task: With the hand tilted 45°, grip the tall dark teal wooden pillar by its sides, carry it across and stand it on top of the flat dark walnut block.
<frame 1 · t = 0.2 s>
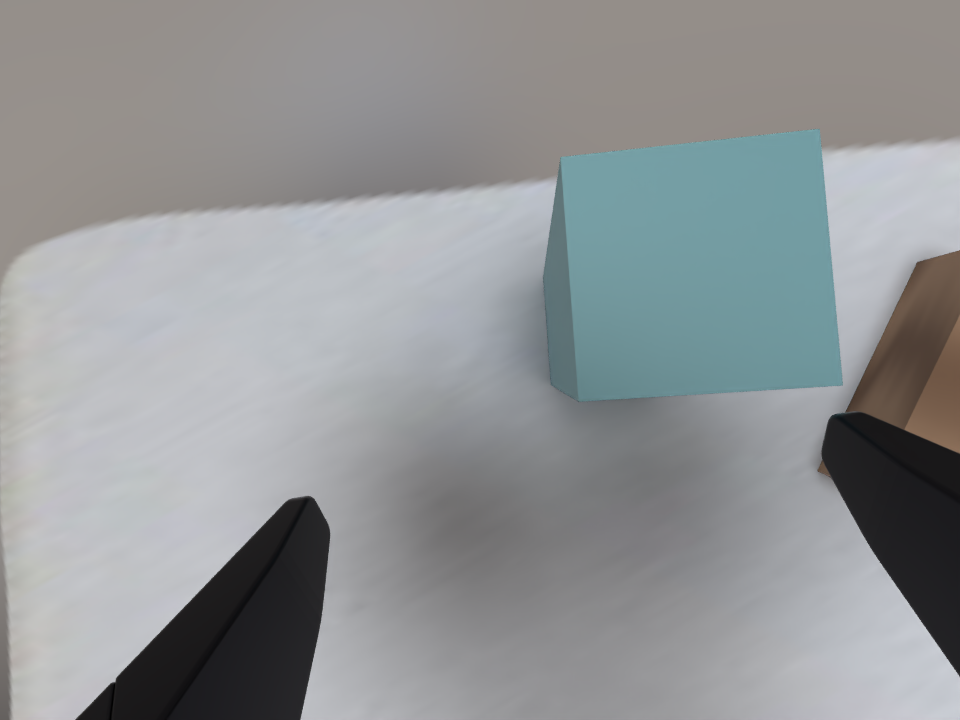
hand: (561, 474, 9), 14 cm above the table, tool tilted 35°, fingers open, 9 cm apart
teal pillar: (601, 326, 23), on the table
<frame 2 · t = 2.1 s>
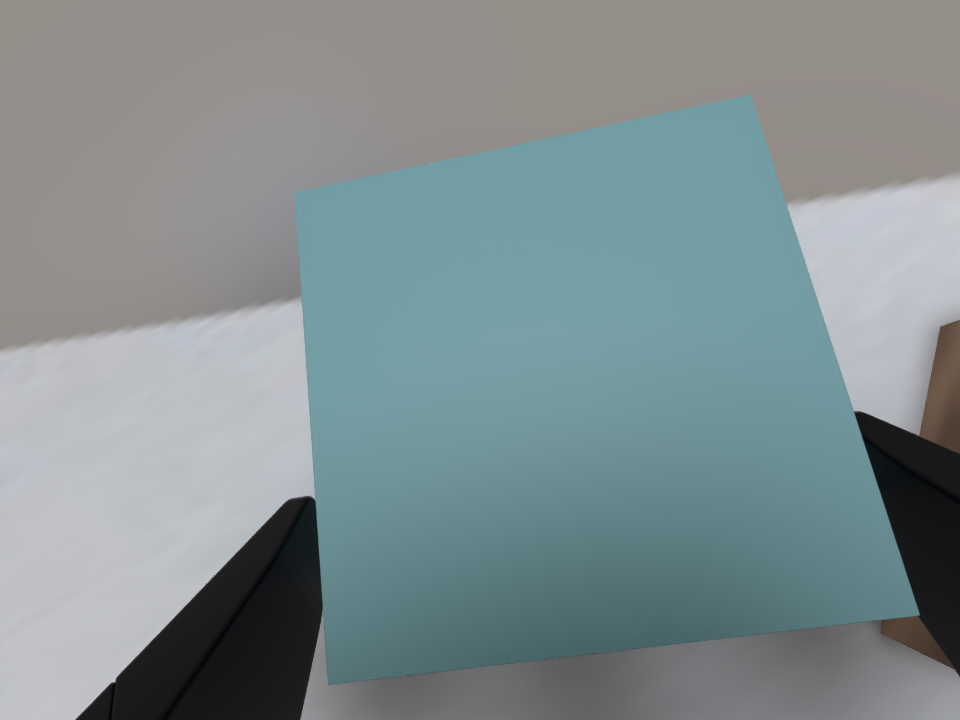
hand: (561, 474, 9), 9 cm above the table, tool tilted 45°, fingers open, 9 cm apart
teal pillar: (548, 441, 17), on the table
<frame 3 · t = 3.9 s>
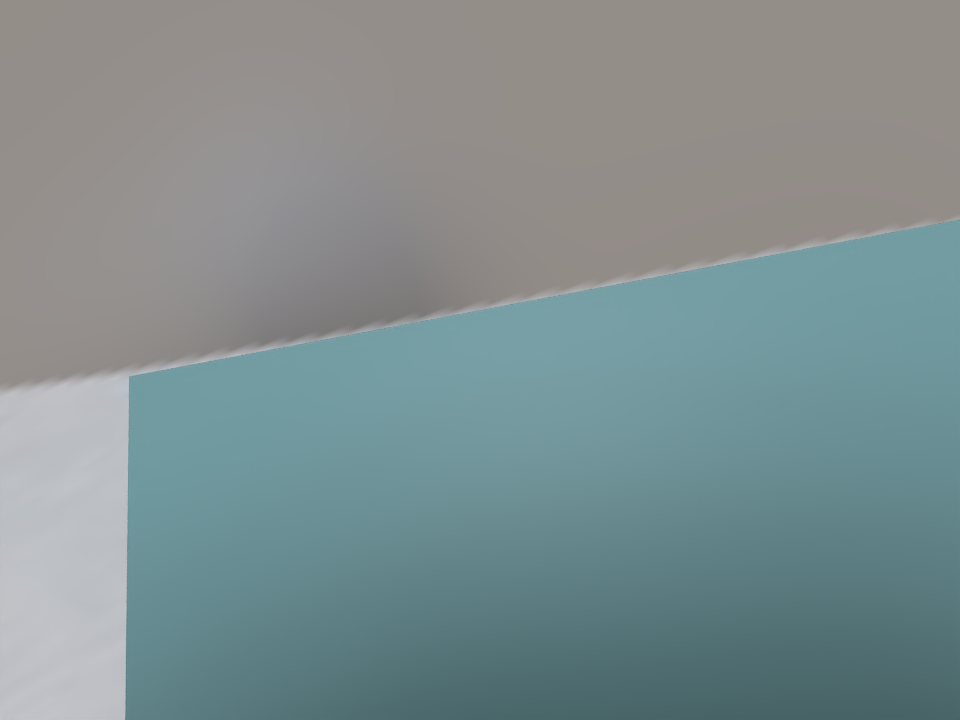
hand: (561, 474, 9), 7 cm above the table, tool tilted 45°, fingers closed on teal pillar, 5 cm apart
teal pillar: (562, 519, 15), on the table, touching gripper
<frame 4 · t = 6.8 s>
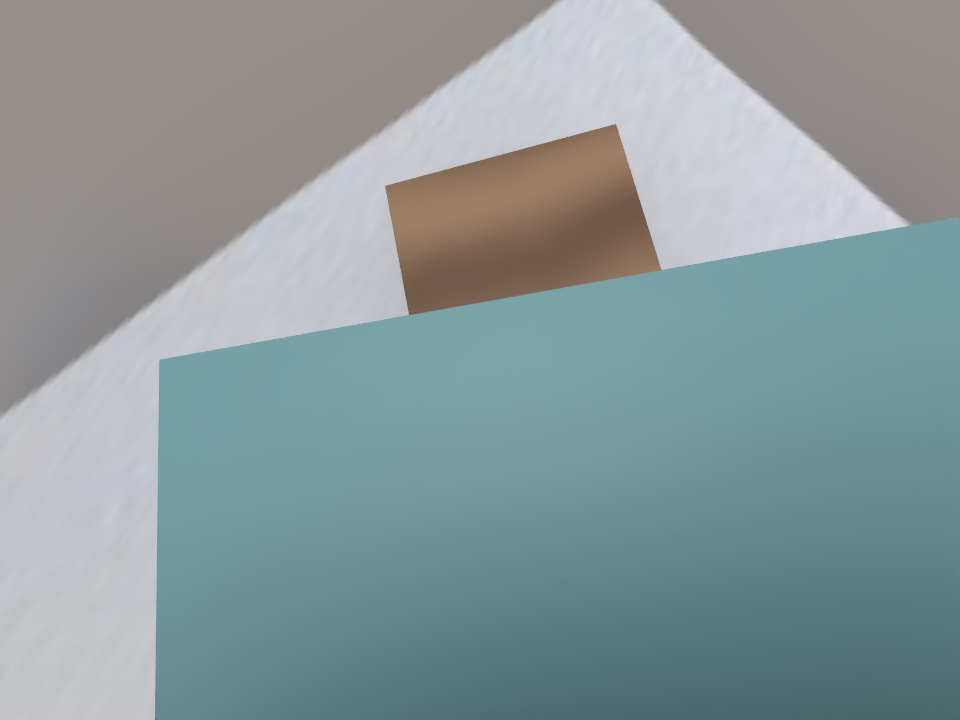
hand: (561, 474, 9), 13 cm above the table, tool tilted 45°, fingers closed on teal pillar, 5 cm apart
walnut block: (528, 295, 24), on the table
teal pillar: (565, 517, 15), point 7 cm above the table, touching gripper
when the fingers open (11 cm above the table, at t = 10.0 s): teal pillar drops 1 cm, resting on walnut block.
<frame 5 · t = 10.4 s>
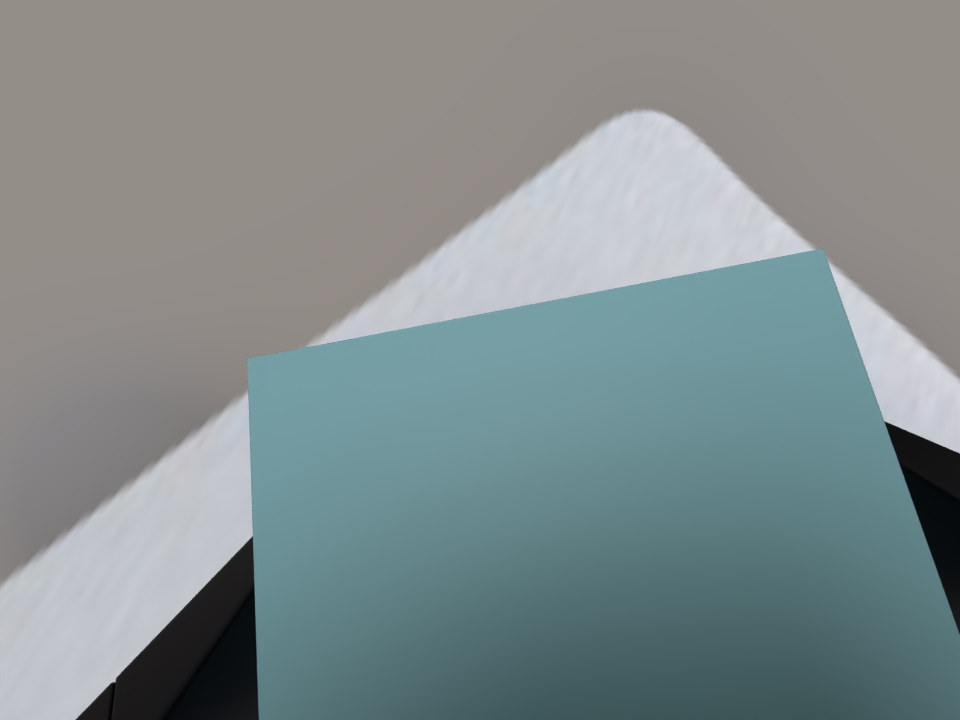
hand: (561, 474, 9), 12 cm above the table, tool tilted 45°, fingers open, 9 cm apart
teal pillar: (559, 511, 16), point 4 cm above the table, touching walnut block
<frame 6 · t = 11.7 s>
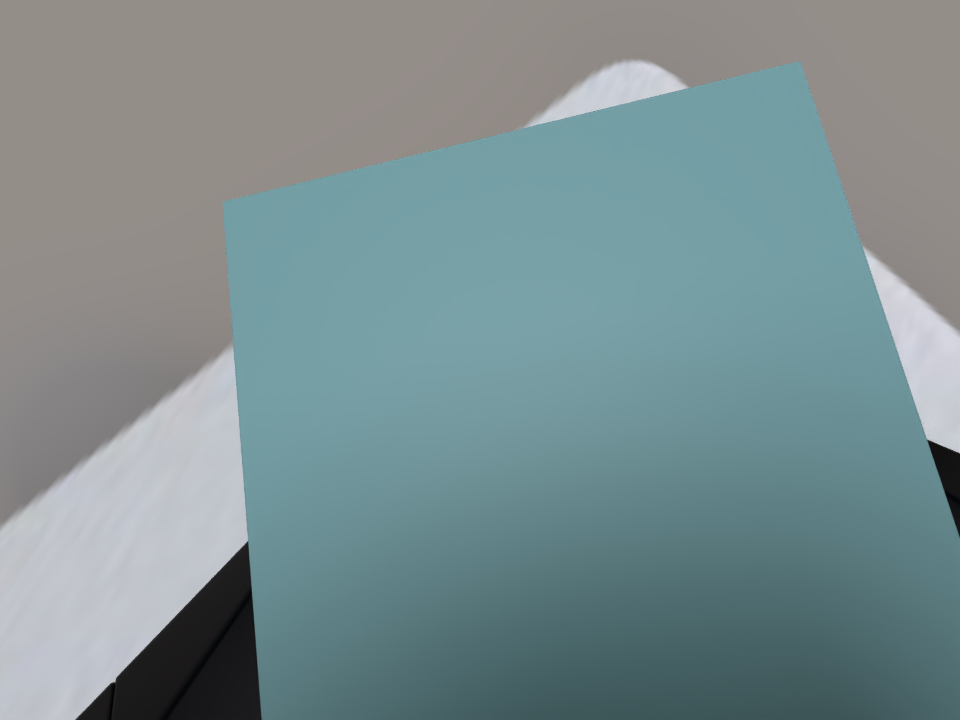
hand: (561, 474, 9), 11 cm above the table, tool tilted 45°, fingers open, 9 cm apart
teal pillar: (552, 440, 16), point 4 cm above the table
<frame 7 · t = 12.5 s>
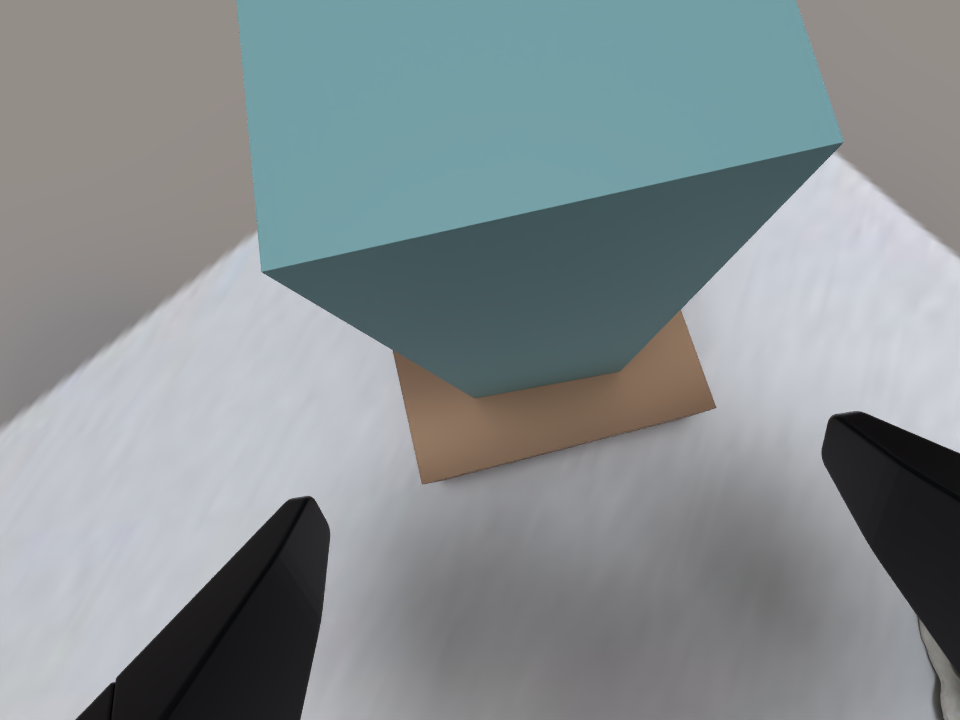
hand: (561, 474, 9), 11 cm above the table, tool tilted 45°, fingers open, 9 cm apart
walnut block: (529, 335, 22), on the table
teal pillar: (532, 315, 17), point 4 cm above the table
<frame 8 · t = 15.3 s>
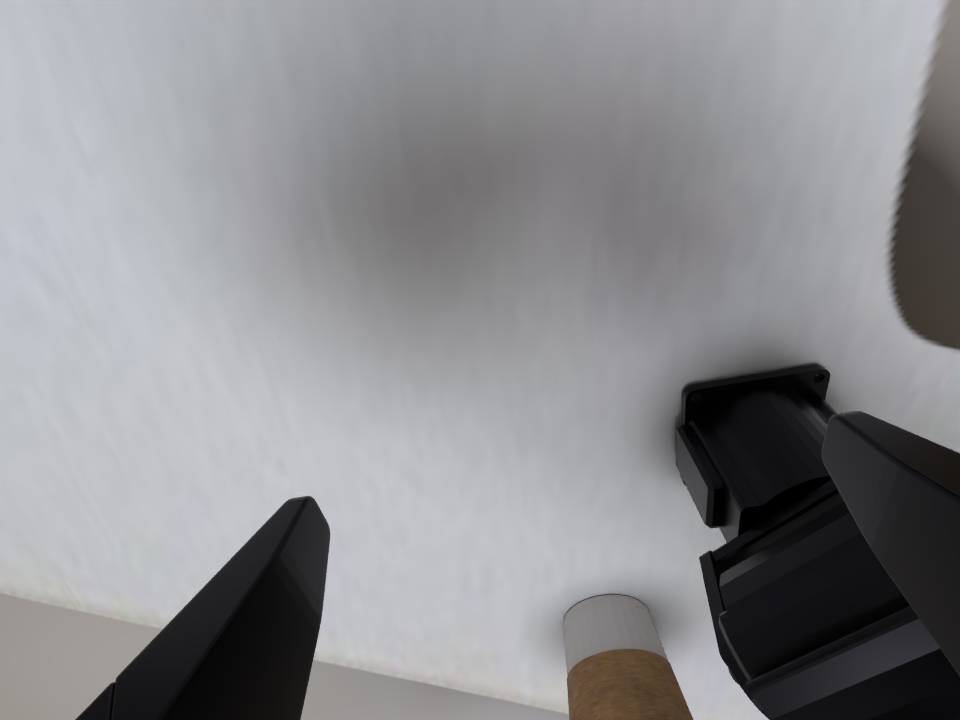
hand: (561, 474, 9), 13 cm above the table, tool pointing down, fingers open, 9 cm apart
coffee cup: (605, 616, 34), on the table
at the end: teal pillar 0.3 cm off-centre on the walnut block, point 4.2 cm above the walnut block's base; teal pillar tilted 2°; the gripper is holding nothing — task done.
